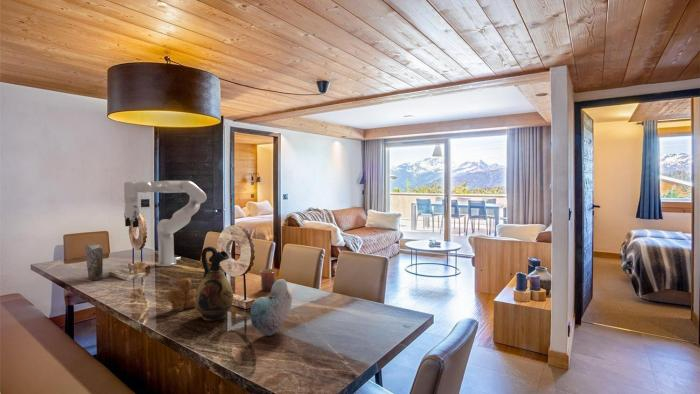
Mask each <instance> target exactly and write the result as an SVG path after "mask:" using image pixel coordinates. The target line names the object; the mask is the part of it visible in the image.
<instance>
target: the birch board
mask: <svg viewBox="0 0 700 394" xmlns="http://www.w3.org/2000/svg"><path fill="white" fill-rule="evenodd" d="M108 276H111V277H114V278H117V279H121V280H124V281H130V280H135V279H140V278H144V277H147V273H146V272H144V273H139V274H136V273H134V268H133V269H132V268H131V272H130V269H129V268H128V267H127V268H123V269H116V270H112V271H108Z"/></svg>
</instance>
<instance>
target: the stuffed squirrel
mask: <svg viewBox="0 0 700 394" xmlns="http://www.w3.org/2000/svg"><path fill="white" fill-rule="evenodd" d="M176 283H177V284H178V285H179V288H178V287H177V288H174V289H172V290H169V291H168V293H166V294H165V296H166V299H167V301H168V302H170V303H171V308H172V310H174V311H178V312H182V311H184V310H185V309H186V310H189V309H194V308H196V305H195V295H196V292H197V289H196V288H193V289H191V288H192V286H195V283H194V281H192V280H191V279H190V277H189V278H188V277H185V278H181V279H177V280H176ZM193 307H194V308H193Z"/></svg>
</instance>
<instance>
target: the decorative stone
mask: <svg viewBox="0 0 700 394" xmlns="http://www.w3.org/2000/svg"><path fill="white" fill-rule="evenodd" d="M292 302H293V296H292V292H290V291H289V289H288V284H287V281H286V280H285V279H284V278H279V279H277V280H275V283H274V284H273V286H272V289H271V291H270V292H269V295H268V296H260V297H258V298H257V299H256V300H254V301H253V302H251V303H252V304H251V305H250V322H251V325H252V326H253V327H254V329H256V330H258V331H259V332H261V333H262V334H263V335H265V336H269V337H270V336H273V335H274V334H275V333H277V331H278V330H279V328H280V327H281V326H282V324H284V322H285V320H286V319H287V317H288V315H289V313H290V312H291V308H292Z"/></svg>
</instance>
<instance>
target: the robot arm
mask: <svg viewBox="0 0 700 394" xmlns="http://www.w3.org/2000/svg"><path fill="white" fill-rule="evenodd" d="M123 192H124V195H123V197H124V200H123V201H124V213H123V216H124V226H125V227H131V226H132V227H133V228H139V220H140V219H139V218H140V207H139V196H138V195H139V193H144V194H145V193H163V194H170V193H171V194H174V193H176V194H177V193H179V194H181V193H186V194H187V195H188V196H189V201H188V203H187V204H186V205H185V206H183V207H181V208H180V209H178V210H177V211H175V212H174V213H173V214H172V217H171V218H170V219H169V218H168V219H167V218H165V219H160V220H159V221H158V223H157V226H156V228H157V229H156V230H157V231H156V232H157V238H158V241H157V244H158V262H156V263H155V266H157V267H169V266H175V265H176V264H177V261H178V260H179V261H180V260H181V259H182V258H181V256H177V257H176V256H175V250H174V249H175V245H174V244H175V242H174V240H175V239H174V234H175V233H176V232H178V231H179V230H181V229H182V228H184V227H186V226H187V225H188V224H189V223H190V221H191V219H192V216H194V215H195V214H196V213H198V211H199V210H200V208H201V204H204V203H206V201H207V198H208V197H207V194H206V193H205V191H204V190H202V188H200V187H199V186H198V185H197V184H195V183H194V182H193V181H191V180H158V181H156V180H155V181H153V180H152V181H150V180H149V181H144V180H142V181H125V182H124V183H123ZM132 220H133V221H132ZM131 222H132V225H131Z"/></svg>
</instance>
